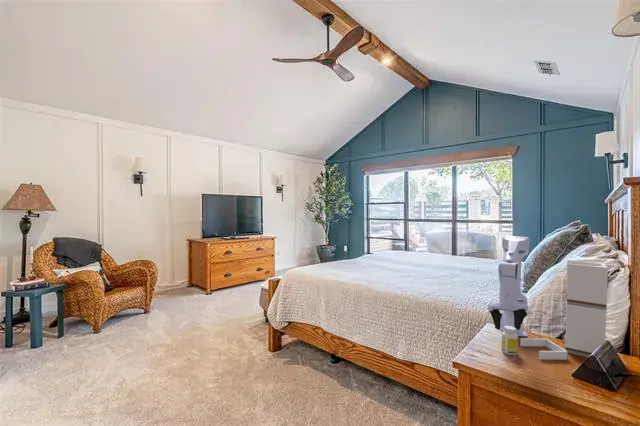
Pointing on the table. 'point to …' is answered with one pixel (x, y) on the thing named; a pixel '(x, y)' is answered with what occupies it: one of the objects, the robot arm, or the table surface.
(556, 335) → the table surface
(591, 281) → the mini fridge
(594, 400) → the table surface
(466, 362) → the table surface
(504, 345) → the supplement bottle
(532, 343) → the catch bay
